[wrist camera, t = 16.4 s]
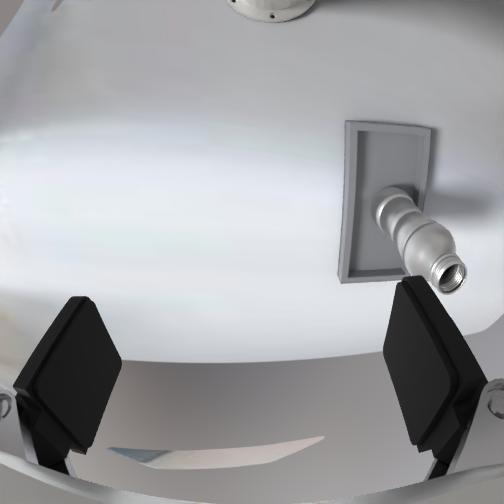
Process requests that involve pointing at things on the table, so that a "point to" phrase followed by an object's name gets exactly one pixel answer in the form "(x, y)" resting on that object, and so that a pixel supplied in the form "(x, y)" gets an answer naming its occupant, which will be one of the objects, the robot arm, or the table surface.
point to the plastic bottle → (418, 240)
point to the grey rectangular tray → (368, 185)
